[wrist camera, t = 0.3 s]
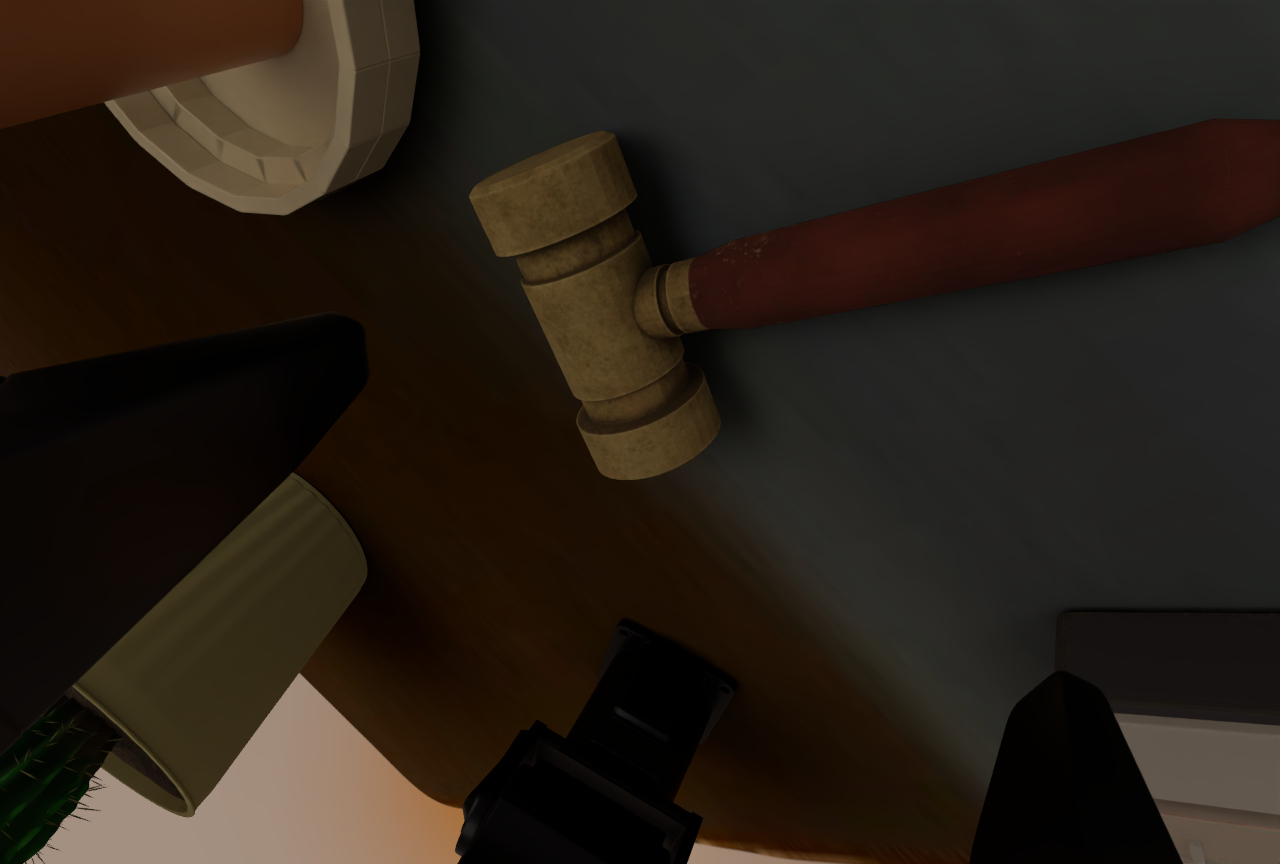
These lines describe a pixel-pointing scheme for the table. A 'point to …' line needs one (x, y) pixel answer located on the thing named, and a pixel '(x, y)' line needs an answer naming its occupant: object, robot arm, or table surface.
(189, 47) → the copper tin
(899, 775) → the table surface
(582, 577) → the table surface
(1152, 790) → the gray and red box
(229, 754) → the potted cactus
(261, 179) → the bowl
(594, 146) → the gavel
